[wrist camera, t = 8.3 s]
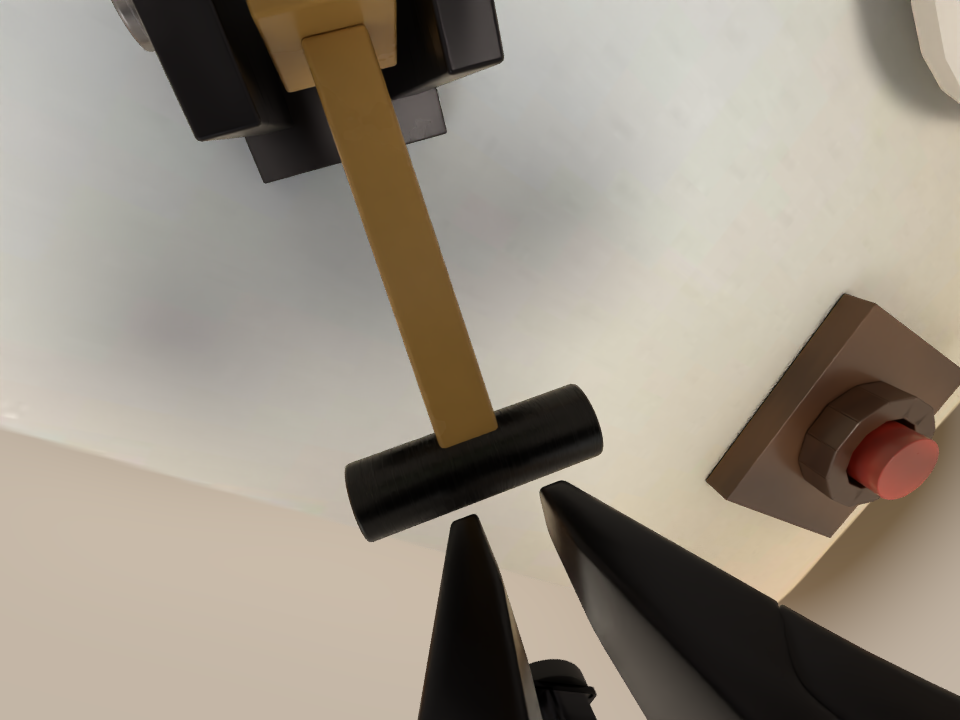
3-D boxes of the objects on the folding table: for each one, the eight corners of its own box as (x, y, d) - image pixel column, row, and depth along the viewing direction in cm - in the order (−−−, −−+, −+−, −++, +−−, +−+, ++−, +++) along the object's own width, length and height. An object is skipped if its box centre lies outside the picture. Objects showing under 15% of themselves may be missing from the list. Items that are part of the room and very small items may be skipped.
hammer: (575, 440, 11) (624, 470, 9) (374, 516, 10) (366, 570, 8) (407, -93, 10) (410, -229, 7) (171, -43, 9) (92, -173, 7)
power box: (807, 519, 33) (857, 560, 29) (705, 480, 28) (750, 523, 25) (937, 362, 30) (1007, 389, 27) (844, 293, 25) (914, 315, 22)
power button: (870, 486, 27) (902, 507, 26) (833, 469, 26) (865, 490, 24) (915, 432, 27) (951, 451, 25) (879, 411, 25) (915, 430, 24)
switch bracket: (440, 132, 17) (548, 138, 9) (268, 180, 17) (204, 237, 8) (374, -132, 14) (444, -524, 6) (156, -88, 13) (-146, -468, 5)
